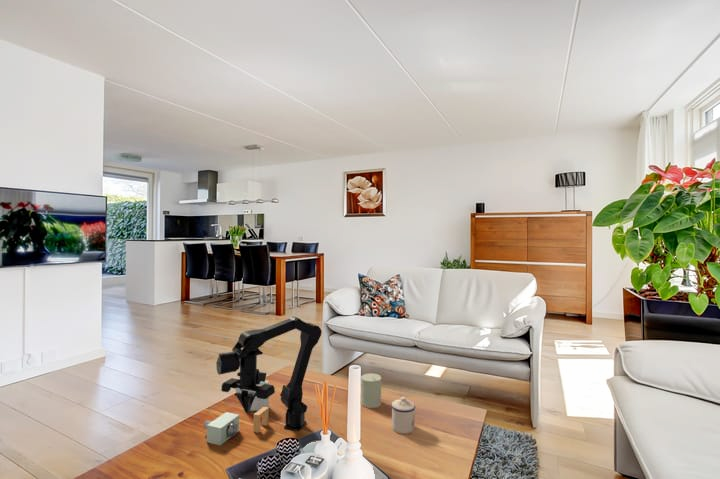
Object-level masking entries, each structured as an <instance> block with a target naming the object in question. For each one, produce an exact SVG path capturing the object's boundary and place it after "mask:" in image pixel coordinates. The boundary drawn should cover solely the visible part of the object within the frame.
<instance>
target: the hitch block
mask: <svg viewBox="0 0 720 479" xmlns="http://www.w3.org/2000/svg"><path fill="white" fill-rule="evenodd" d="M231 423H236V424H237V425H238V430H237V433H238V432H239V431H240V414H237V413H234V412H233V413H232V412H228V411H226V412H224V413H222V414H221V415H219V416H218V417H216V418H215V419H213V420H212V422H211V423H209V424H208V425H207V428H206V443H209V444H213V445H217V446H222V445H223V444H224V443H225V442H227V441H228V440H230V439H231V438H232V437H228V436H227V434H226V431H227V426H228V425H230V424H231Z"/></svg>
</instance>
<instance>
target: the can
mask: <svg viewBox="0 0 720 479" xmlns="http://www.w3.org/2000/svg"><path fill="white" fill-rule="evenodd" d="M360 382H361V383H360V385H361V384H362V387H361V386H360V405H361V406H362V407H364V408H369V409H376V408H379V407H380V406H382V376H381V375H379V374H377V373H373V372H372V373H370V372H369V373H364V374H362V375H361V376H360Z"/></svg>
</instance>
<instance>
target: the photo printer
mask: <svg viewBox="0 0 720 479" xmlns="http://www.w3.org/2000/svg"><path fill="white" fill-rule="evenodd" d="M264 384H269V385H270V383H269V380H266V379H265V382H263V381H262V382H260V384H257V385H256V386H260V387H261V386H262V385H264ZM263 407H268V410H269V409H270V396H269V397H268V398H267V399H260V398H257V396H256V397H255V398H254V401H253V403H252V406H251V409H250V411H249V412H253V411H256V412H257V411H259V410H260V409H261V408H263Z"/></svg>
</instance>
